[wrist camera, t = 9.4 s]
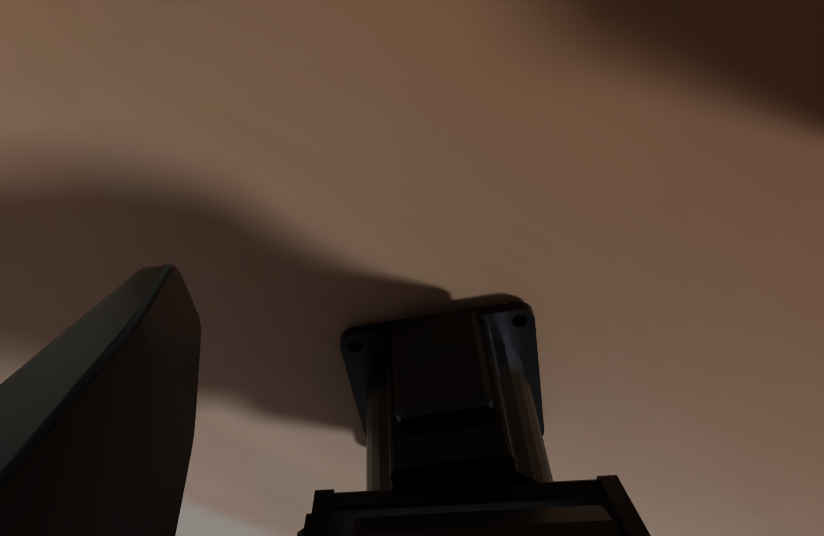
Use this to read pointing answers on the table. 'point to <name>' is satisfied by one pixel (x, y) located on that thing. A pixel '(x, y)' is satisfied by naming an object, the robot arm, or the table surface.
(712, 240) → the table surface
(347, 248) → the table surface
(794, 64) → the table surface
